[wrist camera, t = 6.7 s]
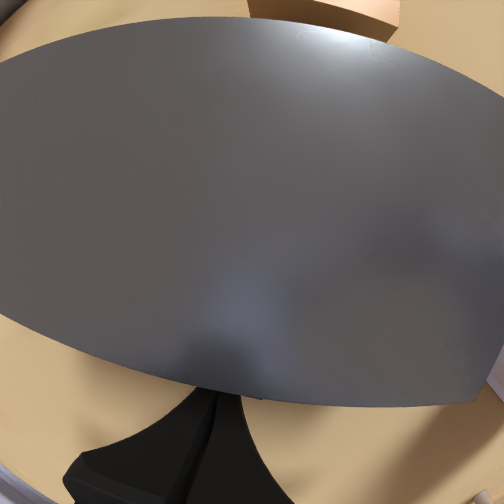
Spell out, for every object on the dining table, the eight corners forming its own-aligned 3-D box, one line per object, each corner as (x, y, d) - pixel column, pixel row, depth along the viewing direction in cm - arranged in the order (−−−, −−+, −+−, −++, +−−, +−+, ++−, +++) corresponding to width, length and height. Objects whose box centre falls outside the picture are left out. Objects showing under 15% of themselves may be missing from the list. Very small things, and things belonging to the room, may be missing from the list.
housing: (390, 298, 11) (474, 401, 4) (101, 249, 11) (-17, 304, 5) (420, 148, 9) (545, 126, 3) (116, 106, 10) (-4, 64, 4)
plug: (282, 365, 12) (282, 433, 8) (190, 341, 12) (158, 402, 8) (371, 2, 8) (399, -51, 4) (278, -20, 8) (275, -81, 4)
